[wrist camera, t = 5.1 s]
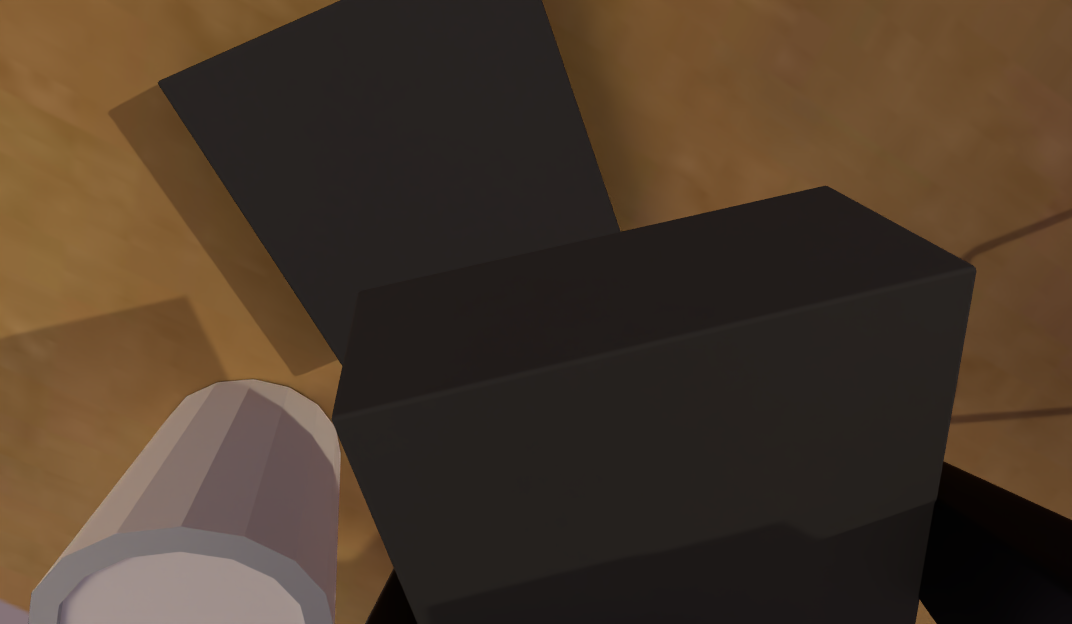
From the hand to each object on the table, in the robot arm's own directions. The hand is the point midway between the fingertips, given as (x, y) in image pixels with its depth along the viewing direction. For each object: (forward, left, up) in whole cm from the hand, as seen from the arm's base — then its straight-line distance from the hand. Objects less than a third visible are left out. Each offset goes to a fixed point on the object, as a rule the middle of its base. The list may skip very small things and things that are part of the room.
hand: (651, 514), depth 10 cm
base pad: (+3, +3, -12) cm, 12 cm away
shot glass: (-5, +11, -12) cm, 17 cm away
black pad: (0, 0, -1) cm, 1 cm away
